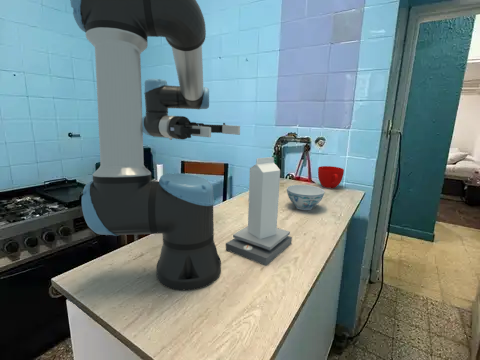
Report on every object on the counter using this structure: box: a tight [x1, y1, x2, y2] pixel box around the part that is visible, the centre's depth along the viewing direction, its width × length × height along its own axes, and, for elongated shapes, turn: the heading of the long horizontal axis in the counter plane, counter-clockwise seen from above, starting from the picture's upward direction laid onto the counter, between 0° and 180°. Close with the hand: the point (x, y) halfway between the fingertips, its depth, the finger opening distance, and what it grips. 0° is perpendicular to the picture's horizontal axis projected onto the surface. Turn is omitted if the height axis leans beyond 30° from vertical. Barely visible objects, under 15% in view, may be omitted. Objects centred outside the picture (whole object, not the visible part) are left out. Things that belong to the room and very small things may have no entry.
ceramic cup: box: [317, 165, 345, 189], centre depth 140 cm, size 13×17×10 cm
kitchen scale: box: [225, 225, 293, 266], centre depth 77 cm, size 15×13×4 cm
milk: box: [247, 156, 281, 239], centre depth 74 cm, size 6×6×22 cm
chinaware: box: [286, 184, 326, 211], centre depth 110 cm, size 15×15×8 cm
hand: (225, 131), depth 78 cm, fingers open, 13 cm apart
